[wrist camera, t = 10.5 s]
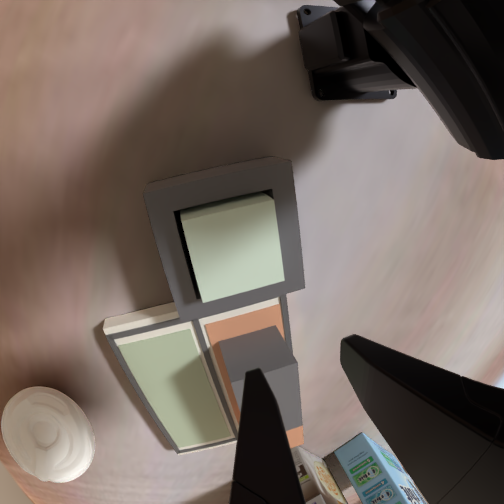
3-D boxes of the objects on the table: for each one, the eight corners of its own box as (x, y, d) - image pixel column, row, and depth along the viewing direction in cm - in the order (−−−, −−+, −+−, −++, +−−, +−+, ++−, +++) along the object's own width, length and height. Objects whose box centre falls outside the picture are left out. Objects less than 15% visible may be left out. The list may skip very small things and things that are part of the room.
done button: (258, 190, 17) (273, 199, 15) (270, 261, 19) (284, 280, 16) (179, 208, 16) (181, 221, 14) (197, 281, 18) (202, 303, 16)
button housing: (272, 156, 18) (291, 161, 15) (287, 267, 21) (305, 288, 18) (146, 183, 16) (142, 193, 14) (178, 296, 19) (181, 322, 17)
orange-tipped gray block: (275, 325, 21) (297, 362, 17) (287, 410, 25) (303, 443, 21) (218, 341, 20) (230, 382, 16) (243, 423, 24) (256, 459, 21)
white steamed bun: (103, 387, 21) (97, 468, 14) (93, 435, 22) (90, 504, 16) (13, 356, 18) (-17, 428, 11) (17, 410, 19) (0, 475, 12)
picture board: (277, 274, 21) (284, 282, 20) (294, 413, 27) (299, 423, 26) (105, 318, 19) (102, 329, 18) (177, 445, 25) (179, 456, 24)
